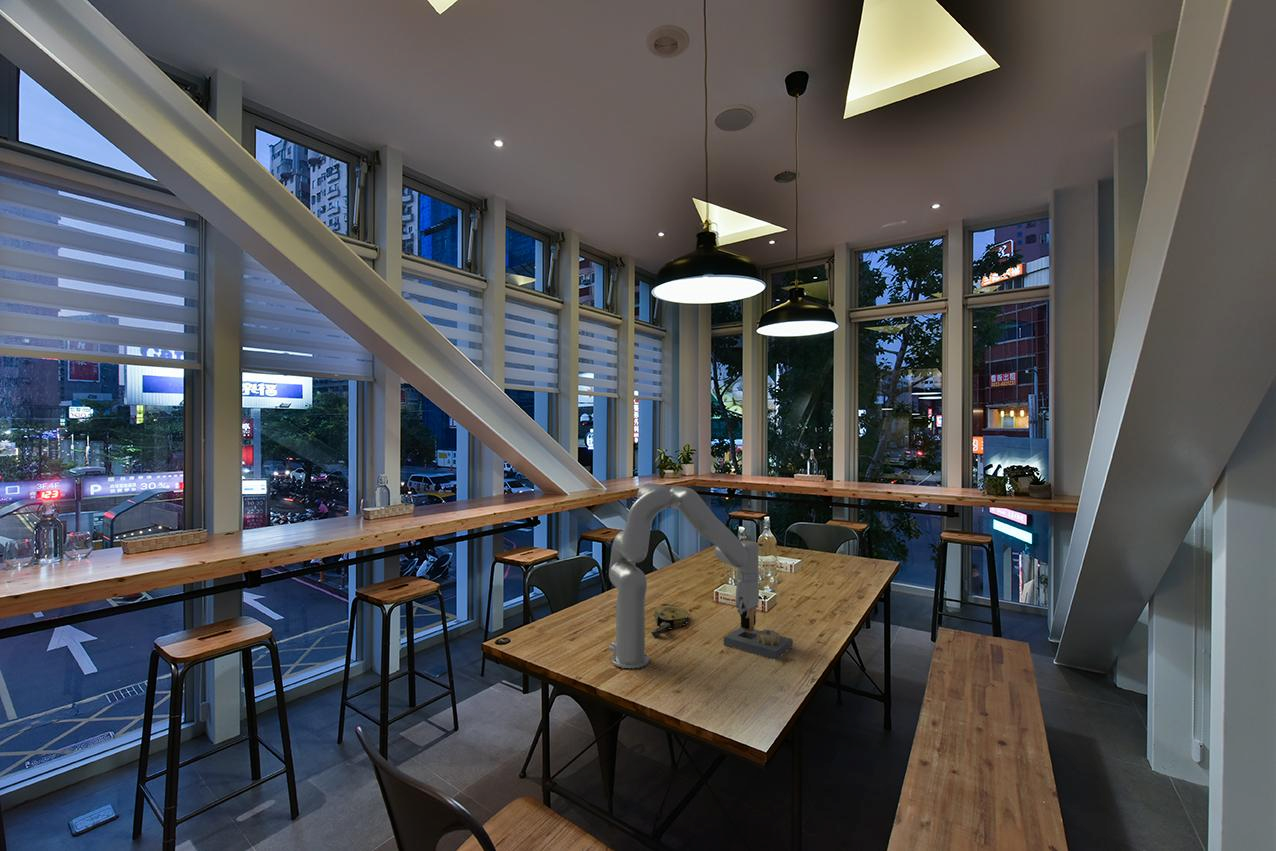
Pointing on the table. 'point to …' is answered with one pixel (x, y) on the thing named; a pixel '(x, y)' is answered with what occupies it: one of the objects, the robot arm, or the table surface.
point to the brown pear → (750, 619)
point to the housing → (759, 642)
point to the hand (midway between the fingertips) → (748, 625)
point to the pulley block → (669, 618)
